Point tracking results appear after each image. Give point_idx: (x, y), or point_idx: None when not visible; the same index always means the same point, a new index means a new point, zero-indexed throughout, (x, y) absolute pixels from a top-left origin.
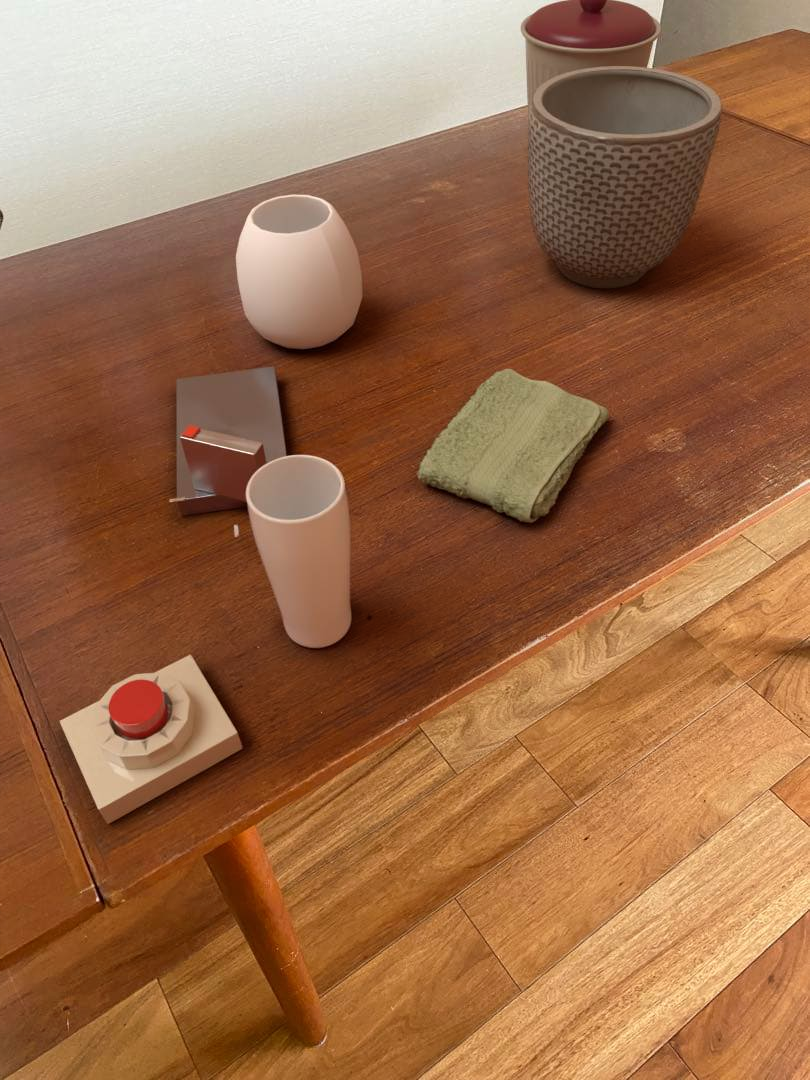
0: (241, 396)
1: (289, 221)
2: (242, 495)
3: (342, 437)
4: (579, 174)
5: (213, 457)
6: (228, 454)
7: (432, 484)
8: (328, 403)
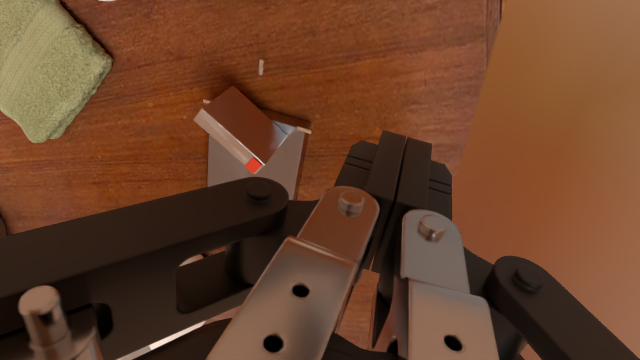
0: None
1: (145, 347)
2: (246, 103)
3: (172, 144)
4: None
5: (246, 134)
6: (228, 125)
7: (101, 49)
8: (178, 184)
